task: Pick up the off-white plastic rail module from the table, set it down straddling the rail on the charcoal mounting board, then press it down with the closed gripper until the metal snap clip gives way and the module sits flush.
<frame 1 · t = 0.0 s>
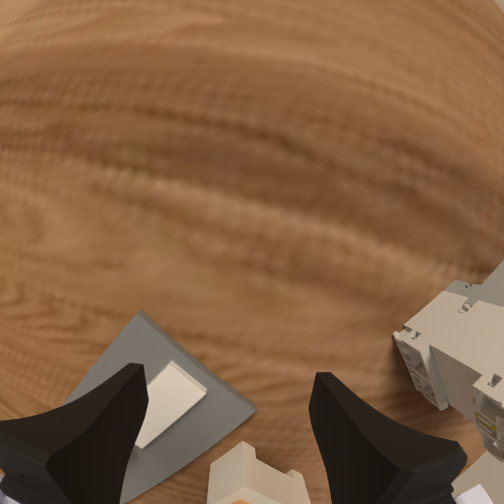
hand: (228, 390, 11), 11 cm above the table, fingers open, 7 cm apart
circuit breaker: (457, 316, 23), on the table
din board: (121, 435, 22), on the table
rail module: (257, 471, 23), on the table
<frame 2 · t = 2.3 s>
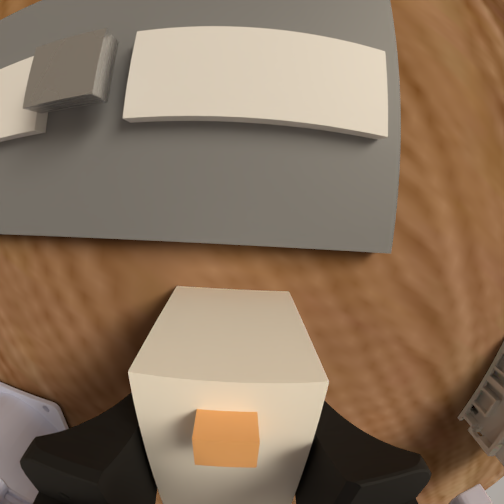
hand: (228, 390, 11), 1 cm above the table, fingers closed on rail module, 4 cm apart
din board: (100, 91, 10), on the table
snap clip: (69, 72, 7), point 3 cm above the table, slide at 0.0 cm
rail module: (229, 371, 13), on the table, touching gripper
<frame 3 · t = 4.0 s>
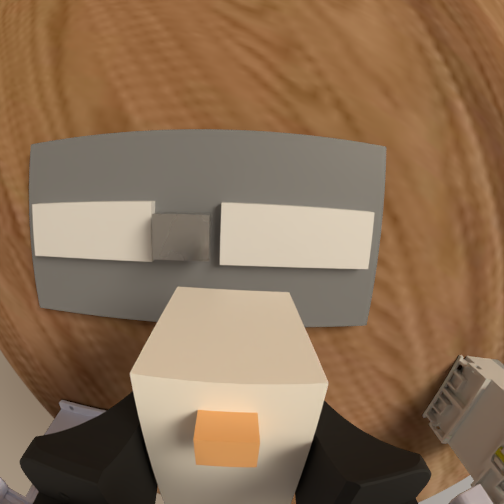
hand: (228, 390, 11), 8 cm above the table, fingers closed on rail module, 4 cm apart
circuit breaker: (476, 386, 23), on the table
din board: (190, 228, 18), on the table
snap clip: (182, 235, 16), point 3 cm above the table, slide at 0.0 cm
rail module: (229, 371, 13), point 7 cm above the table, touching gripper
when the fingers open (4 cm above the table, at t = 6.0 s): rail module stays where it is, resting on snap clip.
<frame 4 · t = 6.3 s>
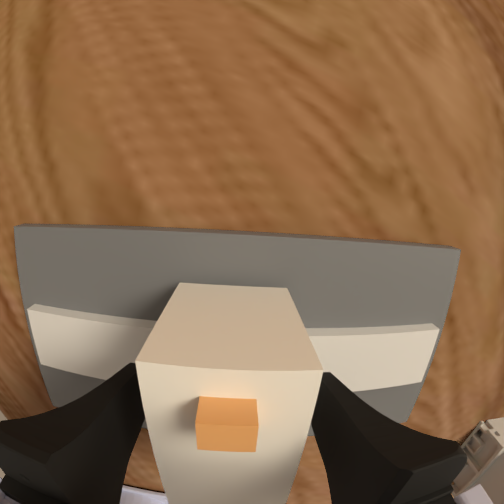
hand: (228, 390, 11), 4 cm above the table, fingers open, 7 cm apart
circuit breaker: (489, 439, 20), on the table
din board: (230, 347, 15), on the table
rail module: (230, 365, 13), point 2 cm above the table, touching snap clip
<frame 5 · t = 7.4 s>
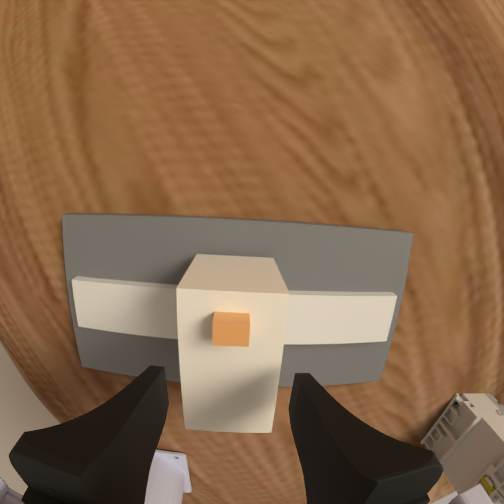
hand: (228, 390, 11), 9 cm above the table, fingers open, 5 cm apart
circuit breaker: (469, 416, 25), on the table
din board: (232, 307, 20), on the table
rail module: (232, 318, 18), point 2 cm above the table, touching snap clip
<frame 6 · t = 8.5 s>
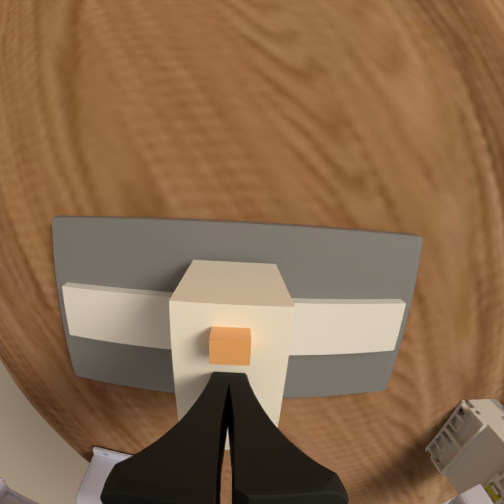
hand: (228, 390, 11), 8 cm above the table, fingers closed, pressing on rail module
circuit breaker: (474, 421, 24), on the table
din board: (232, 315, 19), on the table
rail module: (231, 327, 17), point 2 cm above the table, touching gripper, snap clip
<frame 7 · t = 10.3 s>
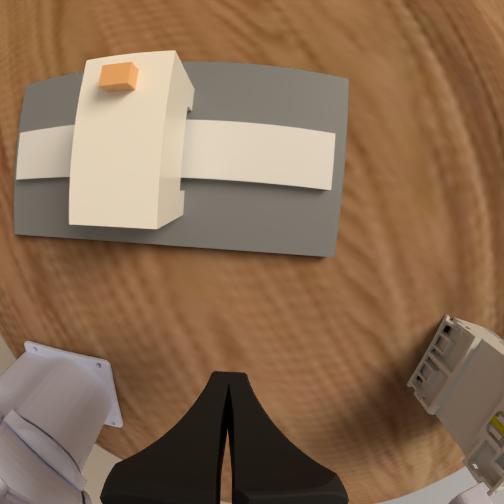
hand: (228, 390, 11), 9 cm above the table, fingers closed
circuit breaker: (466, 358, 23), on the table
din board: (157, 150, 18), on the table
rail module: (152, 149, 17), point 1 cm above the table, touching din board
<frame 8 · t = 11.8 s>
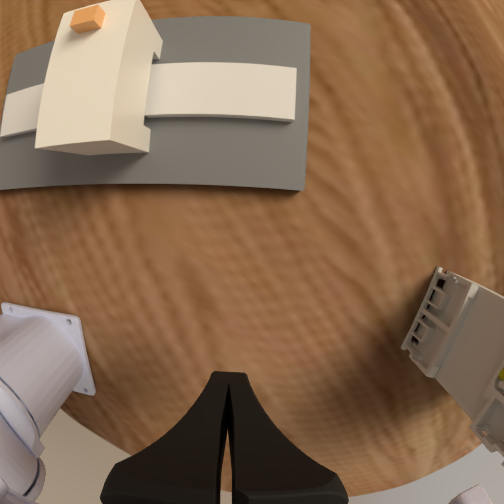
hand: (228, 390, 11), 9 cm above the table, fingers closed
circuit breaker: (466, 321, 22), on the table
din board: (128, 98, 17), on the table
rail module: (122, 95, 16), point 1 cm above the table, touching din board
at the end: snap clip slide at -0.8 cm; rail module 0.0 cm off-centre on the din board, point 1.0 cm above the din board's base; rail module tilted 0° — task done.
